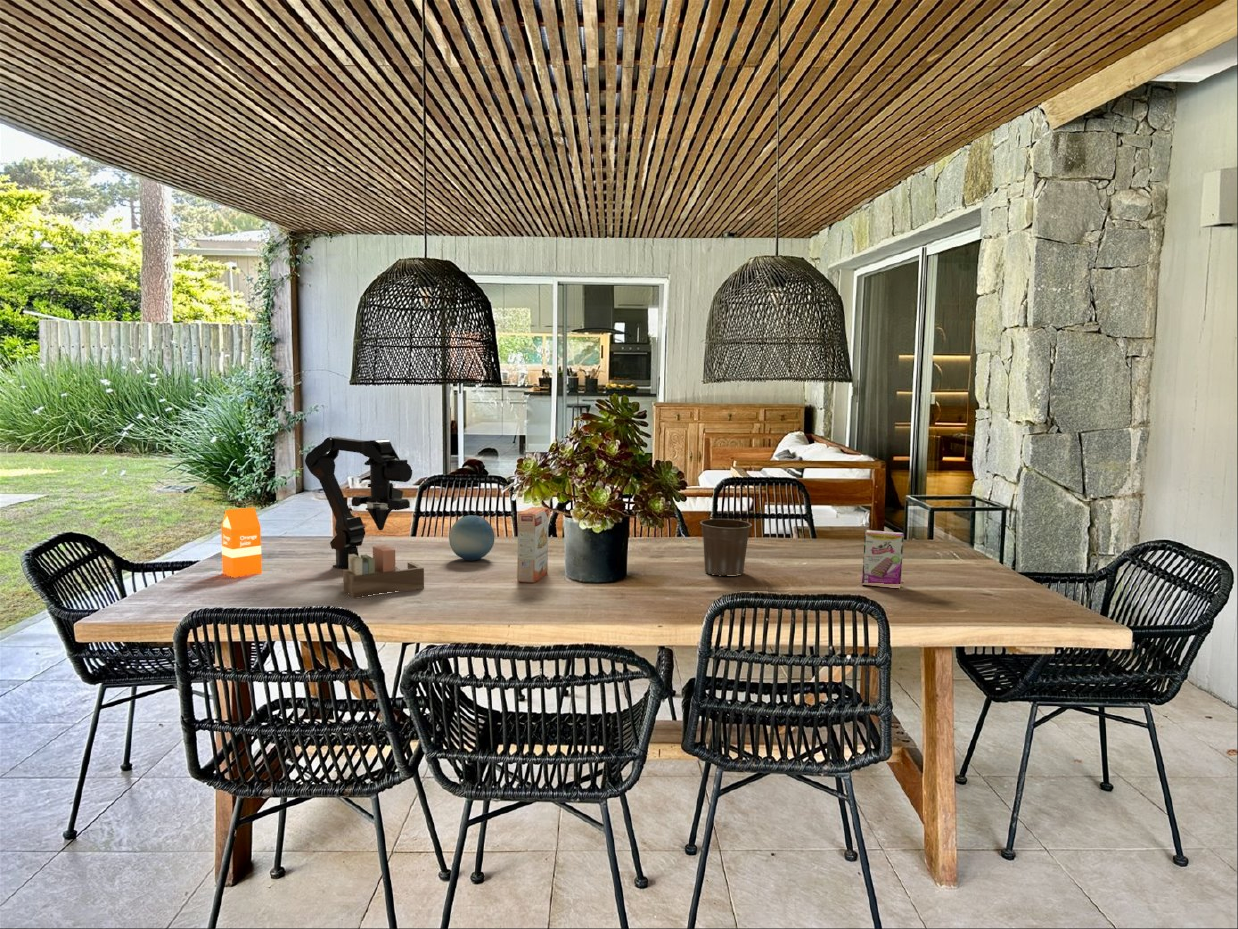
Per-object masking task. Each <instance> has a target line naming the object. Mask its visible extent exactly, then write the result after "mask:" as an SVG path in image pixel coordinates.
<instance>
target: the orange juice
mask: <svg viewBox="0 0 1238 929" xmlns="http://www.w3.org/2000/svg"><path fill="white" fill-rule="evenodd" d="M255 508H256V507H254V506H253V507H252V506H251V507H243V508H232V509H225V511H224V512H225V513H224V516H223V520H222V522H221V527H220V528H221V530H220V532H221V560H222V563H221V564H222V574H223V575H225V574H226V575H225V576H228V577H230V576H231V577H230V578H232V577H234V578H239V577H238V576H240V577H246V576H245V575H247V576H251V575H250V574H253V575H258V574H263V570H262V566H263V565H262V560H263V559H262V537H261V536H262V535H261V534H262V533H261V532H262V529H261V527H262V526H261V524H260V520H259V518H258V515H257V512H256V509H255Z"/></svg>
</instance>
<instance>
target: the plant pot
mask: <svg viewBox="0 0 1238 929" xmlns="http://www.w3.org/2000/svg"><path fill="white" fill-rule="evenodd" d="M699 523H700V525H701V534H702V537H703V538H702V539H703V559H704V571H705V573H706V574H707V573H708V575H710V574H714V575H722V576H725V575H737V574H742V575H743V574H744V572H745V570H744V569H745V562H746V556H747V548H748V540H749V537H750V533H751V528H752V526H753V524H752V523H751V522H748V521H744V520H739V519H730V518H709V519H702V520H701V521H699Z"/></svg>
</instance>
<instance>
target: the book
mask: <svg viewBox="0 0 1238 929" xmlns="http://www.w3.org/2000/svg"><path fill="white" fill-rule="evenodd" d="M372 558H374V561H375V570H376V571H378V572H379V573H380V572H388V571H396V570H395V567H396V549H394V548H392V547H390V546H388V545H385V544H383V545H381V544H380V545H374V546H372Z"/></svg>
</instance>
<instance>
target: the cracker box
mask: <svg viewBox="0 0 1238 929" xmlns="http://www.w3.org/2000/svg"><path fill="white" fill-rule="evenodd" d="M549 512H550V507H549V508H548V507H536V506H532V507H530V508H527V509H525V510H523V511H520V512H518V513H517V563H516V564H517V566H516V567H517V570H516V572H517V573H516V579H517V580H516V582H517V583H527V584H528V583H529V584H535V583H537V581H539V580H540V579H541V578H542V577H544V576H546V575H547V574H548V572H549V571H548V569H549V566H548V565H549V563H548V562H549V522H550V520H549V518H550V517H549V515H550V514H549Z"/></svg>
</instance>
